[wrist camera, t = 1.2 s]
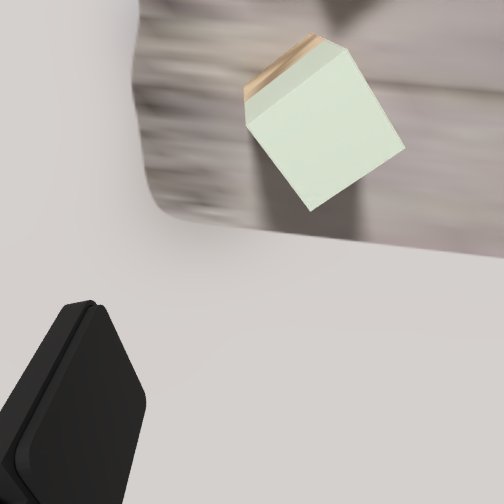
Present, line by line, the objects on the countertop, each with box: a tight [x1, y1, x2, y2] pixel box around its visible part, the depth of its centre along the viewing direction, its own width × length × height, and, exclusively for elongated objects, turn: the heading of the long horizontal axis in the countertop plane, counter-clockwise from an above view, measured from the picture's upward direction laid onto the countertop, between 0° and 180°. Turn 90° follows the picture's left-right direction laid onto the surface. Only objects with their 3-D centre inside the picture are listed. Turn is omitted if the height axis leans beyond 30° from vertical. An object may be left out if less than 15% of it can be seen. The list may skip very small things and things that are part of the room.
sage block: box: [245, 39, 405, 212], centre depth 27 cm, size 6×6×6 cm
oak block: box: [244, 33, 325, 103], centre depth 32 cm, size 6×6×6 cm
